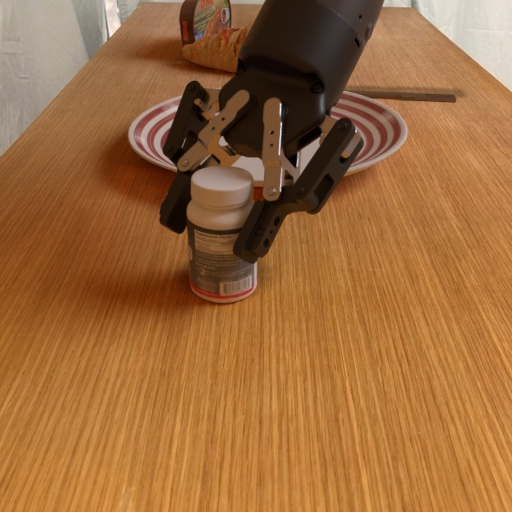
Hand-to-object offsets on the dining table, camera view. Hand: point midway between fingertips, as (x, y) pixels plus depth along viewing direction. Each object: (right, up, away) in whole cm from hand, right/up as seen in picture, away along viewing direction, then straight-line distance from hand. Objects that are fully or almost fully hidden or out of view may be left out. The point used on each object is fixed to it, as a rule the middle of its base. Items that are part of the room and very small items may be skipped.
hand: (205, 242), depth 45 cm
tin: (-4, +30, +61) cm, 68 cm away
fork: (+20, +19, +41) cm, 49 cm away
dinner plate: (+4, +10, +25) cm, 27 cm away
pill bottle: (+1, -3, +3) cm, 5 cm away
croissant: (+3, +26, +52) cm, 58 cm away
